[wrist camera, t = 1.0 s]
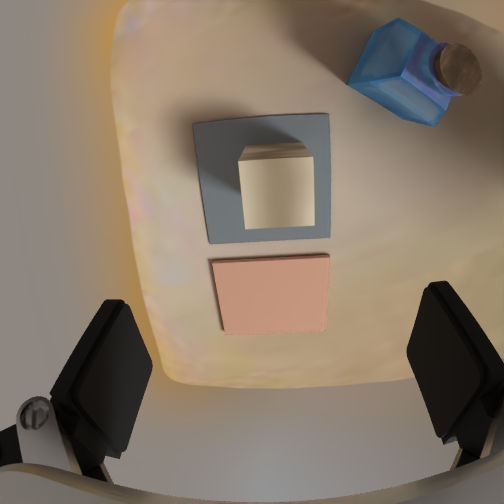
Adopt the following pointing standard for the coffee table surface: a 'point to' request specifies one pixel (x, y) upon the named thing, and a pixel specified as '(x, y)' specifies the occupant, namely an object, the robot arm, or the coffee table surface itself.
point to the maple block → (277, 185)
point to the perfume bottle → (414, 72)
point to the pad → (273, 294)
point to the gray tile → (228, 179)
